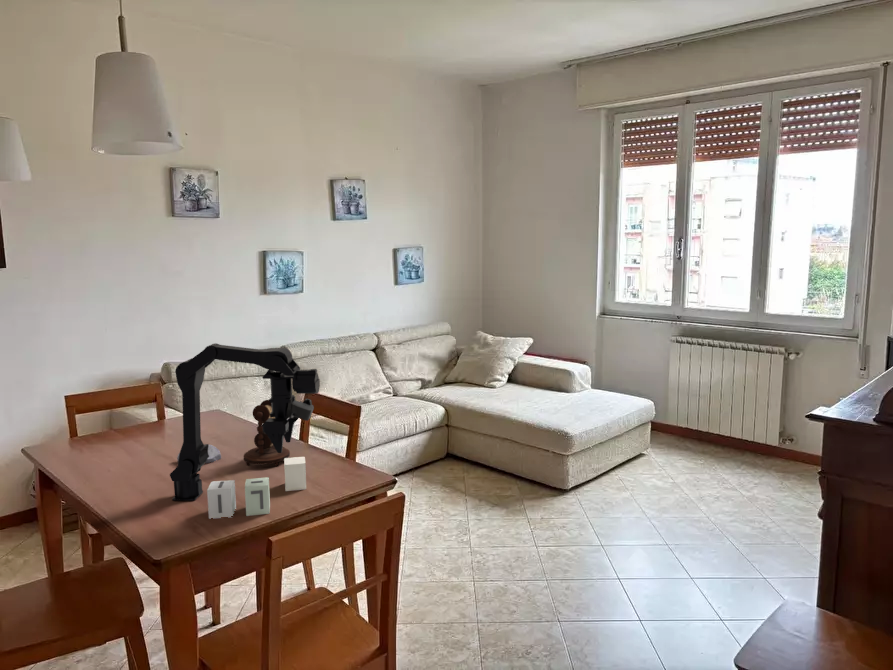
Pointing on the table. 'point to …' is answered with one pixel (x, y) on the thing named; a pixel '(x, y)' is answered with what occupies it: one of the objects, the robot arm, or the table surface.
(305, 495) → the table surface
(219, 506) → the grey marked block
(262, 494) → the sage marked block
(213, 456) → the stone block
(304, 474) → the plain cream block
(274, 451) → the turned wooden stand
